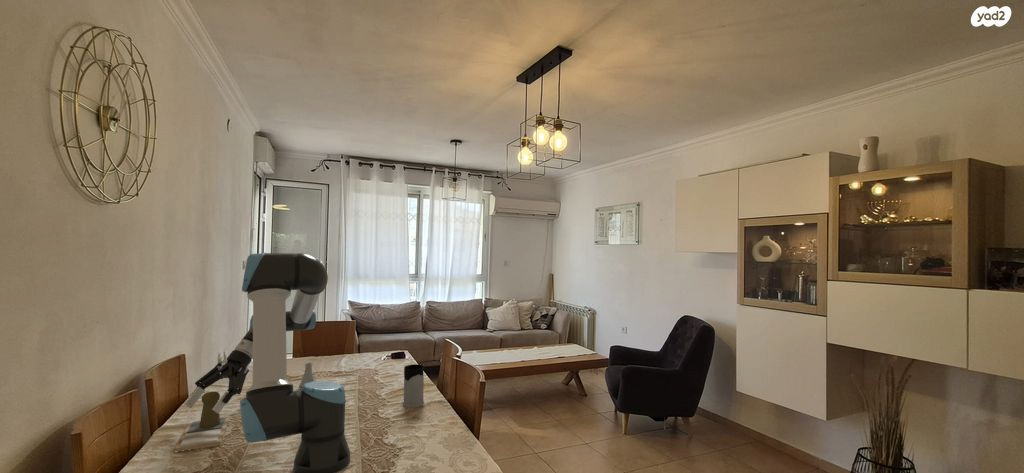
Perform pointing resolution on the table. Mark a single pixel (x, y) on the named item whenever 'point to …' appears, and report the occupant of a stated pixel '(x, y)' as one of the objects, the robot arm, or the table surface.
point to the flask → (307, 375)
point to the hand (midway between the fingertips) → (201, 408)
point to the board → (202, 436)
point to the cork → (209, 410)
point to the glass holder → (413, 386)
